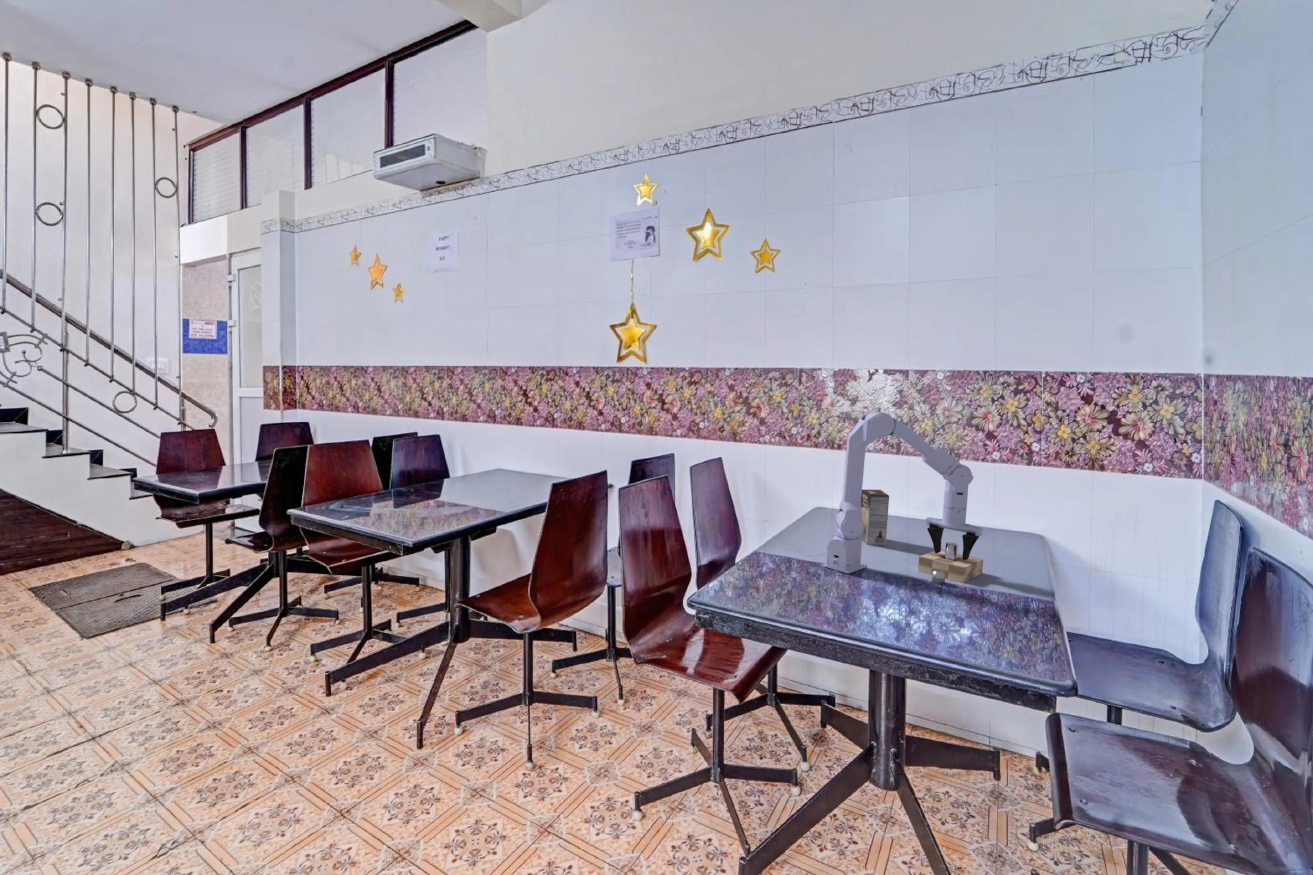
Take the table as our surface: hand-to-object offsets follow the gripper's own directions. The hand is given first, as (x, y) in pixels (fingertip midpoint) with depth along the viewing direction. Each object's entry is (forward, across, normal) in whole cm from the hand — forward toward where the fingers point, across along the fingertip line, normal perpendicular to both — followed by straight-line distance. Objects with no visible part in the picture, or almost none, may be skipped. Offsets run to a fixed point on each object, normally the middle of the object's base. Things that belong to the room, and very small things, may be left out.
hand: (951, 555), depth 171 cm
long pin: (+5, 0, 0) cm, 5 cm away
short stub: (+5, -2, +11) cm, 12 cm away
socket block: (+5, 0, 0) cm, 5 cm away
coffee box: (+5, +30, -11) cm, 32 cm away
